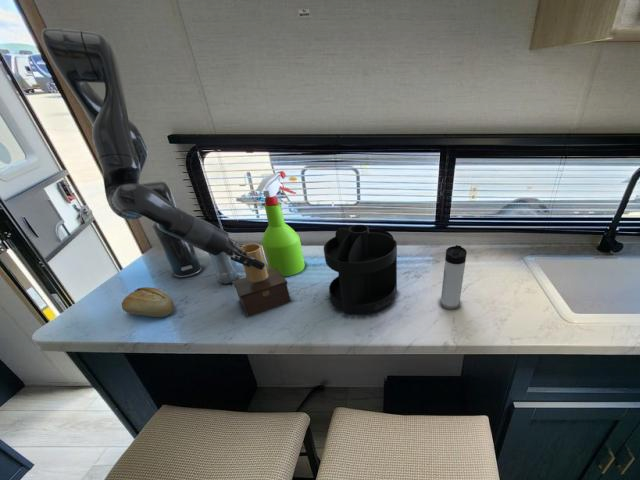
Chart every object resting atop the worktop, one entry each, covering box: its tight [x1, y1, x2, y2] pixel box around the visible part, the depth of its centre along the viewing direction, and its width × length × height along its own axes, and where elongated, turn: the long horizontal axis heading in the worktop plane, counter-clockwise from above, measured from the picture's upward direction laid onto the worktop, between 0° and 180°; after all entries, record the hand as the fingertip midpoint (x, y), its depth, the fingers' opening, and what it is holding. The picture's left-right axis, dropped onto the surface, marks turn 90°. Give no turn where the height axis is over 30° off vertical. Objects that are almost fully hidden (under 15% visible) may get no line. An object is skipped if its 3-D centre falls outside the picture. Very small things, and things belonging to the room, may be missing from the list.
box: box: [231, 268, 291, 317], centre depth 103 cm, size 11×14×8 cm
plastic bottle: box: [208, 252, 238, 284], centre depth 110 cm, size 6×7×20 cm
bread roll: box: [121, 286, 175, 318], centre depth 98 cm, size 10×15×8 cm, turn 86°
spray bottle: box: [255, 170, 306, 278], centre depth 116 cm, size 14×18×35 cm
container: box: [323, 224, 398, 316], centre depth 101 cm, size 22×23×25 cm
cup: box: [240, 243, 269, 282], centre depth 97 cm, size 6×6×10 cm
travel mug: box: [440, 244, 468, 310], centre depth 100 cm, size 6×7×20 cm
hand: (259, 262), depth 98 cm, fingers closed on cup, 6 cm apart
